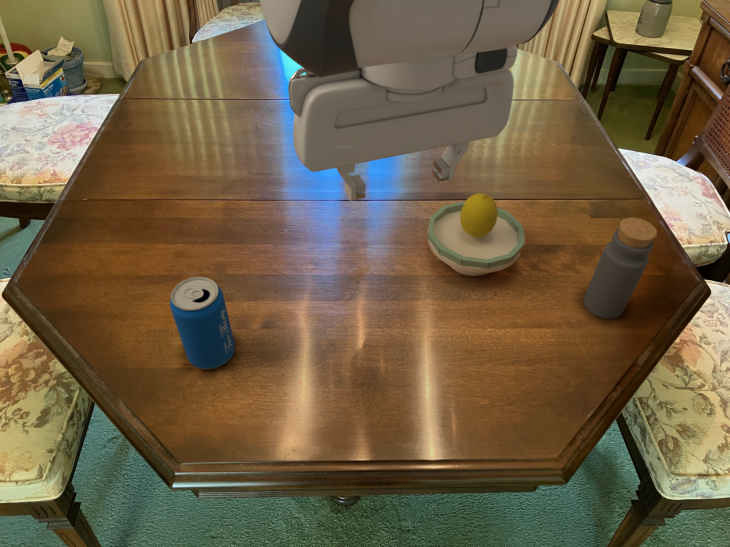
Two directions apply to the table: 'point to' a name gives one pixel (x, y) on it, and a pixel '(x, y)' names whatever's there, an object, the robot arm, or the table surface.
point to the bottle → (620, 268)
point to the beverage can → (202, 322)
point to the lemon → (478, 215)
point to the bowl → (475, 242)
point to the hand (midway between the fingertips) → (399, 186)
